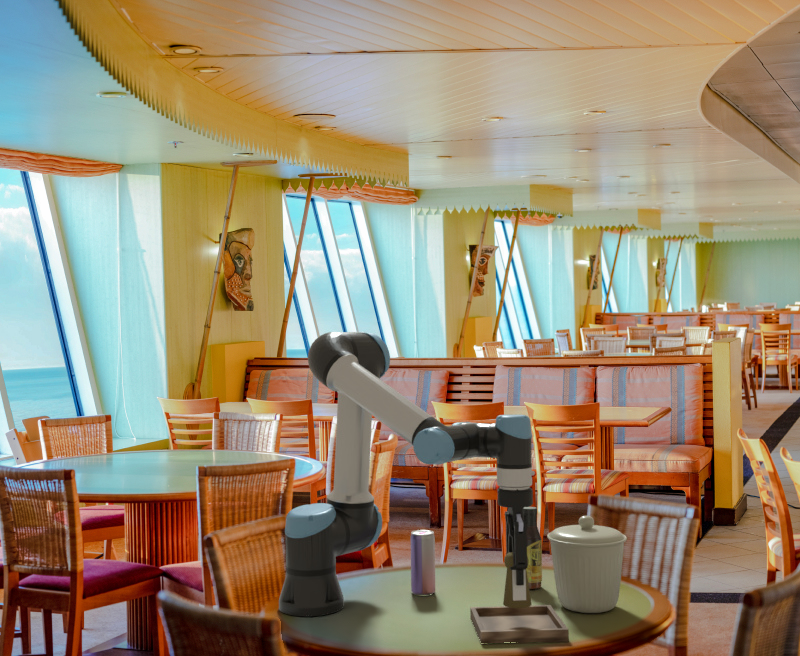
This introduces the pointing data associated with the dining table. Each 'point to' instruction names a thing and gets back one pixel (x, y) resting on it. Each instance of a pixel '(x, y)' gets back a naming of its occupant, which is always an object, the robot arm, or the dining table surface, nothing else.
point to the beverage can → (422, 562)
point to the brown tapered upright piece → (509, 586)
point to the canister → (587, 565)
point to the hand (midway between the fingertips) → (517, 596)
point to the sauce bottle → (533, 549)
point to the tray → (518, 624)
